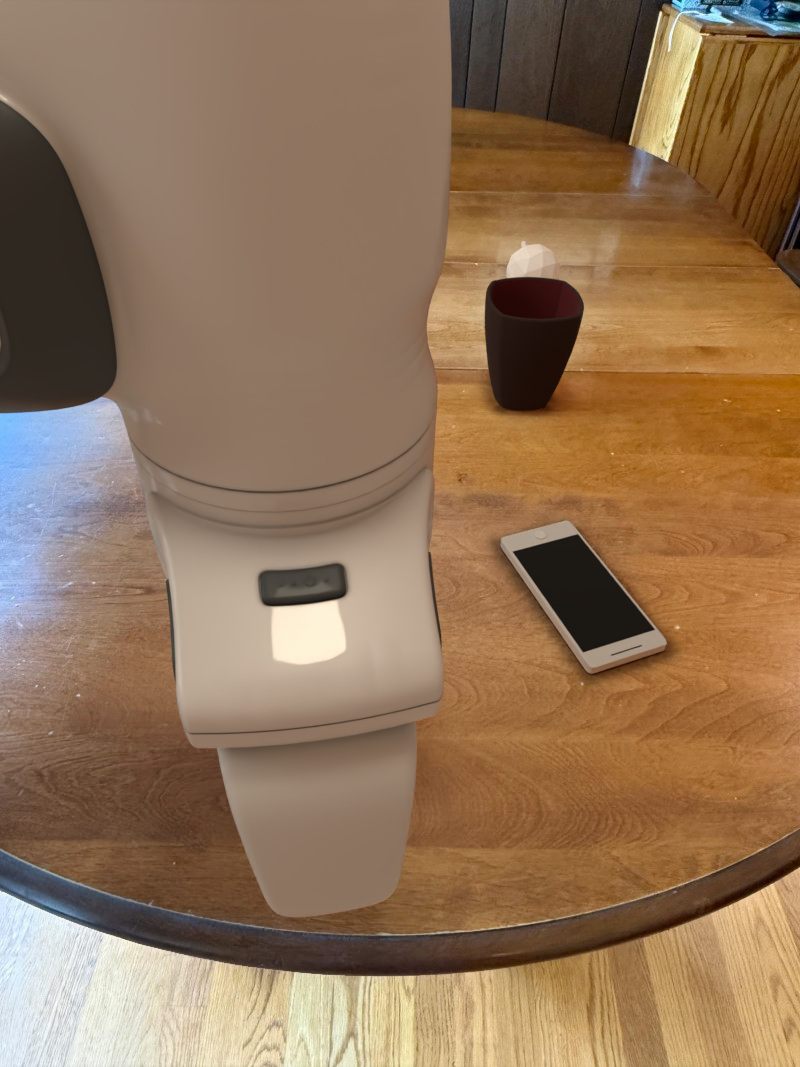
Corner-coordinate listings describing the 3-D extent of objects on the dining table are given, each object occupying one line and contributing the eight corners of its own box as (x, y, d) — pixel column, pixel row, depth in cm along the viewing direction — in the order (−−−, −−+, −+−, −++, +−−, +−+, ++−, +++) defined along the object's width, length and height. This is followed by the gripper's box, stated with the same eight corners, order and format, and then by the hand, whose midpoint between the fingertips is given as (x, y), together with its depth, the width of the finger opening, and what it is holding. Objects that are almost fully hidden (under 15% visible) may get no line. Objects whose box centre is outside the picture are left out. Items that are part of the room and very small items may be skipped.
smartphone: (567, 526, 72) (569, 518, 71) (666, 650, 61) (669, 642, 60) (498, 544, 70) (499, 536, 69) (588, 675, 59) (590, 668, 58)
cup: (481, 422, 84) (492, 320, 76) (468, 357, 94) (476, 260, 86) (572, 422, 84) (593, 320, 76) (549, 356, 94) (565, 260, 86)
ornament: (509, 310, 103) (490, 250, 101) (523, 307, 109) (506, 251, 108) (559, 291, 99) (541, 229, 98) (571, 289, 106) (554, 231, 104)
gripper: (195, 322, 31) (238, 564, 41) (173, 781, 16) (248, 994, 26) (351, 312, 32) (357, 551, 41) (463, 740, 17) (433, 961, 27)
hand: (315, 725), depth 34 cm, fingers open, 7 cm apart
